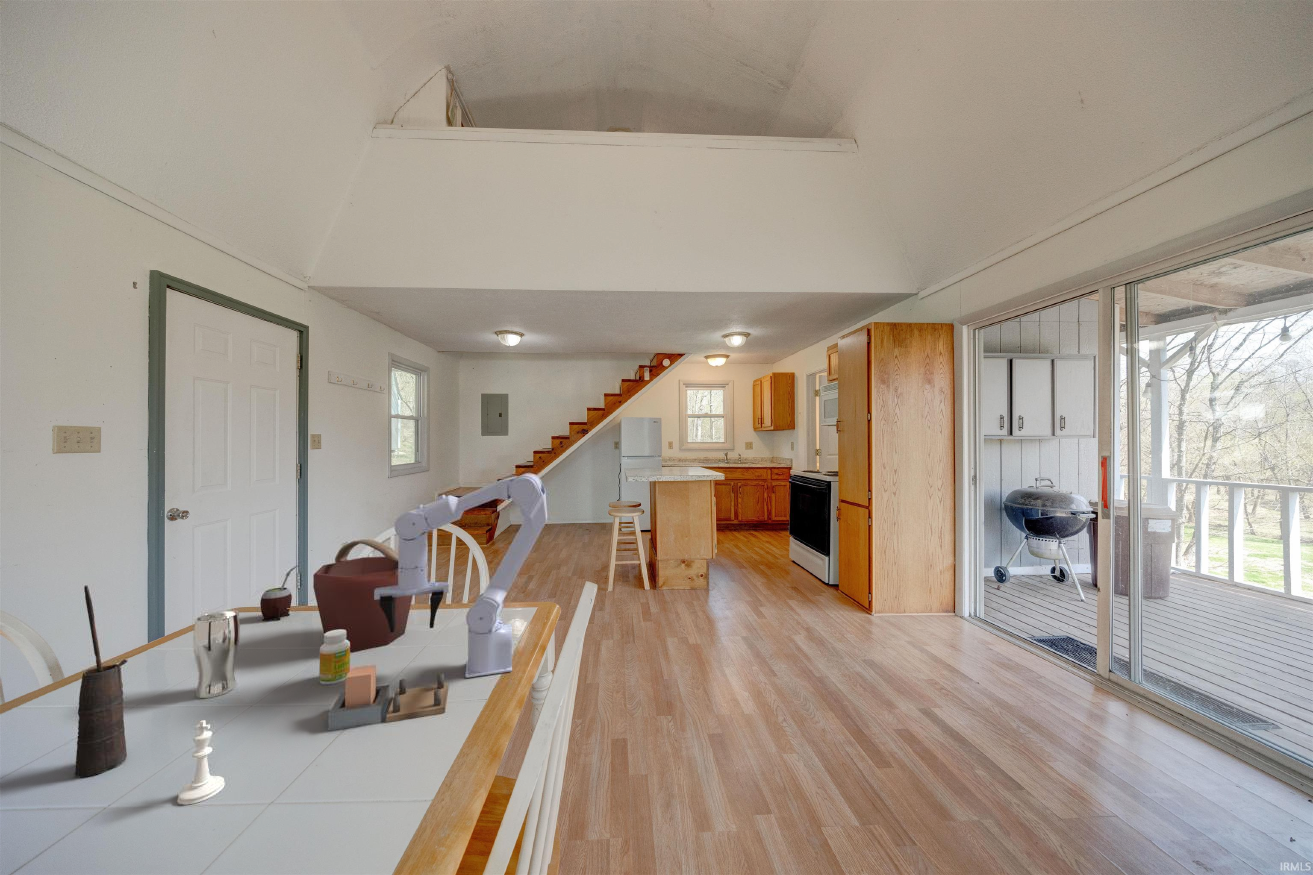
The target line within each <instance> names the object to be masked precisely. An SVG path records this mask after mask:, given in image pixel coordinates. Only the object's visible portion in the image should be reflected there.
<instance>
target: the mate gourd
mask: <svg viewBox="0 0 1313 875" xmlns="http://www.w3.org/2000/svg"><path fill="white" fill-rule="evenodd" d="M299 566H300V565H299V564H297V565H295V566H293V567H292V568H291V569H290V570H289V571H288V572H287V573H286V574H285V578H284V580H283V582H282V584H281V587H275V588H270V589H267V590H265V591H264V592H263V593H262V595H261V597H260V603H259V604H260V612H261V614H262V619H261V620H262V622H267V621H271V620H275V621H277V622H279V621H281V618H284V617H289V616H290V615H291V614H290V610H291V605H292V600H293V598H292V596H293V595H292V592H291V590H290V589H289V588H288V587H285V586H286V583H287V581H288V578H289V577H290V575H291V572H292V571H293V570H295V569H296V568H297V567H299ZM287 608H290V609H287Z"/></svg>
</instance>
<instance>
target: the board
mask: <svg viewBox="0 0 1313 875" xmlns="http://www.w3.org/2000/svg"><path fill="white" fill-rule="evenodd" d="M398 684H399V685H398V690H396V691H395V692H394V696H393V697H392V700H391V703H390V706H389V709H388V712H387V714H386V720H385V722H386V723H390V722H396V721H404V720H407V719H408V720H409V719H414V718H415V719H416V718H421V717H428V716H434V715H440V714H444V713H446V710H447V709H446V708H447V701H448V696H449V688H450V684H449V683H445V674H444V673H439V674H437V684H436V685H430V686H429V685H427V686H423V687H422V686H421V687H415V688H408V689H407V679H406V678H402V679H399V682H398Z"/></svg>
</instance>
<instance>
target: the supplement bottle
mask: <svg viewBox="0 0 1313 875" xmlns="http://www.w3.org/2000/svg"><path fill="white" fill-rule="evenodd" d="M323 642H324V643H323V644H322V645H321V646H320V647H319V670H318V671H319V673H318V674H319V678H318V679H319V683H320V684H322V685H335V684H339V683H341V682H344V681H346V676H347V674H348V673H349V671H350V670H351V652H350V642H349V641H348V640H346V630H342V629H340V630H333V631H329V632H327V633H325V634H324V633H323Z"/></svg>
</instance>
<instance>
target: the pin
mask: <svg viewBox="0 0 1313 875" xmlns="http://www.w3.org/2000/svg"><path fill="white" fill-rule="evenodd" d="M376 678H377V664H371V665H365V666H356V667H350V671H349V673H348V674H347V676H346V679H345V683H344V684H345V690H344V691H345V708H346V707H353V706H359V705H366V704H373V703H375V694H376V686H377V685H376V683H377V682H376V680H377V679H376Z"/></svg>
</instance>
